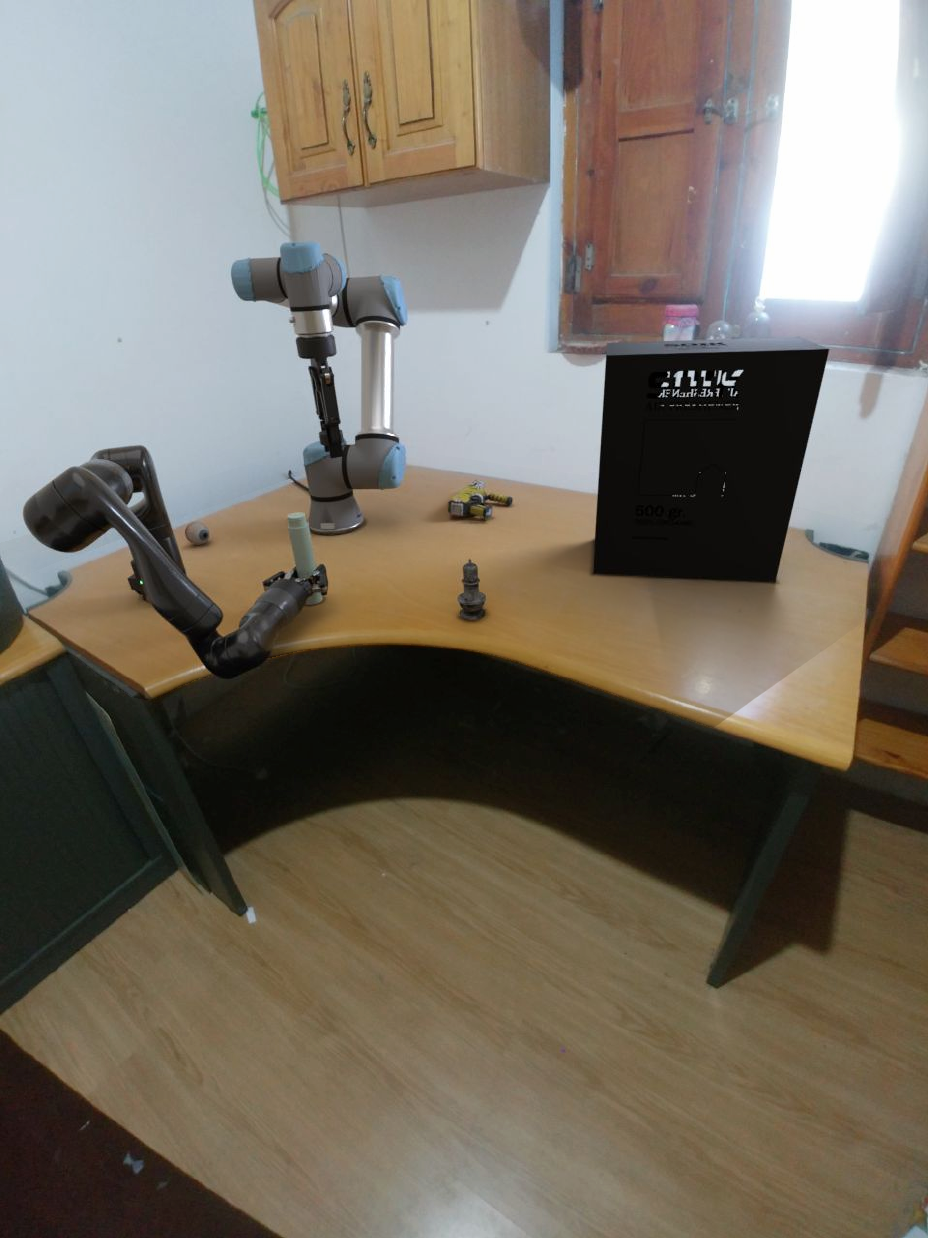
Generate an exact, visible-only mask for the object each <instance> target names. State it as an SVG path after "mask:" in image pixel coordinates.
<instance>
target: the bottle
mask: <svg viewBox="0 0 928 1238" xmlns="http://www.w3.org/2000/svg"><path fill="white" fill-rule="evenodd" d="M306 516H307V515H306V514H305V512H302V511H297V512H292V513H289V514H287V518H286V519H287V523H288V525H287V530H288V536H289V540H290V545H291V550H292V555H293V560H294V564H295V566H296V569H297V574H298V578H301V577H303V576H304V575H306V574H311V573H313V572H314V571H315V569H316V568H317V567H318V566H317V562H316V557H315V551H314V546H313V541H312V535H311V530H310V529H309V522H307V518H306ZM314 581H315V577H314ZM323 599H324V598H323V596H322V595H321V593H319V592H318V593H313V595H312V596H310V597H308V598H307V601H306V604H305V605H306V606H314V605H318V604H320V603H321V602H322V601H323Z"/></svg>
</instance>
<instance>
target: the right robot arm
mask: <svg viewBox="0 0 928 1238" xmlns="http://www.w3.org/2000/svg"><path fill="white" fill-rule="evenodd" d="M279 254H280V255H279V256H275V257H257V258H251V257H247V258H243V259H236V260H235V261H233V262H232V264H231V268H230V277H231V285H232V287H233V290H234V292H235V294H236V295H237V297H238V298H239V299H240V300H241V301H244V302H253V303H255V302H268V303H271V304H274V305H277V306H278V305H279V306H281V307H285V308H287V309H289V311H290V315H291V316H292V317H291V316H290V317H289V318H288V322H289V324H292V327H293V333H294V334H295V335H297V337H296V338H295V344H296V345H295V346H296V350H297V356H298V357H299V358H300V359H303V360H309V361H310V365H308V366H307V367H308V368H307V369H308V373H309V376H310V382H311V388H312V393H313V399H314V405H315V413H316V415H317V416H318V419H319V425H320V430H321V431H323V430H326V435H327V441H328V446H324V445H321V444H320V440H318V441H314V442H312V443H309V444H308V445H307V446H305V447H304V448H303V450H302V457H303V459H302V460H303V467H304V471H305V477H306V481H307V486H308V487H307V486H306V485H304V484H302V483H301V482H299V481H297V479H295V478H294V477H293V476H292V470H291V469H289V470H288V477H289V479H290V480H291V481H292V482H294V483H295V484H296V485H298V486H299V487H301V488H302V489H305V490H306V491H307V492H309V498H310V507H309V513H308V522H307V523H308V524H309V530H310V532H312V533H314V534H317V535H323V536H324V535H325V536H327V535H329V536H331V535H339V534H340V535H341V534H345V533H350V532H353V531H355V530H357V529H359V528H361V527H362V526H363V525H364V523H365V519H364V514H363V512H362V510H361V508H360V505H359V504H358V501H357V500H356V498H355V495H354V490H381V491H384V490H392V489H393V490H394V489H397V488H398V487H400V486H401V484H402V482H403V480H404V477H405V474H406V469H407V456H406V455H407V451H406V450H407V449H406V447H405V445H404V444H403V443H402V442H400V437H399V435H397V433H396V432H395V431H394V429H395V428H394V423H395V422H394V421H395V418H394V415H395V411H394V410H395V340H397V339H398V338H399V336H401V327H404V326H406V325H407V324H408V309H407V303H406V297H405V293H404V290H403V286H402V284H401V282H400V280H399V279H398V278H397V277H396V276H395V275H382V274H379V275H373V276H357V277H356V276H355V277H347V271H346V268H345V265H344V264H343V263H342V261H341V260H340V259H339V258H338V257H336V256H334V255H332V254H329V253H327V252H325V253H323V252H322V248H321V245H320V243H319V242H318V241H315V240H307V241H306V240H305V241H304V240H303V241H289V242H283V243H282V244H281V245H280V247H279ZM334 326H335V327H339V328H344V329H345V328H346V329H348V328H349V329H350V328H352V329H353V328H355V330H354V331H355V333H356V334H357V335H358V336H359V337H360V341H361V342H360V344H361V345H360V360H361V361H360V430H359V431H358V432H357V433H356V434H355V435H354V443H353V444H348V443H347V441H346V439H345V438H344V442H343V443H341V436H340V430H341V429H340V424H341V422H342V420H341V417H340V410H339V403H338V397H337V391H336V386H335V385H336V384H335V374H334V372H333V369H332V366H329V363H328V358H331V357H334V356H336V355H337V344H336V339H335V338H336V337H335V336H334V334H332V332H334ZM339 429H340V430H339ZM321 431H320V432H321Z"/></svg>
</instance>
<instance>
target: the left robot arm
mask: <svg viewBox="0 0 928 1238" xmlns="http://www.w3.org/2000/svg"><path fill="white" fill-rule="evenodd" d="M139 493H142V494H143V498H142V499H141V500H139V501H138V502H137V503H135V504H133V505H131V506H128V505H129V503H130V502H131V500H132V498H133V494H139ZM162 494H163V493H162V490H161V487H160V483H159V478H158V474H157V471H156V467H155V463H154V460H153V457H152V455H151V453H150V451H149V450H148V448H147V447H146V446H145V445H142V444H135V445H133V444H132V445H126V446H117V447H110V448H109V447H108V448H103V449H100V450H98V451H96V452H94V453H93V455H92V456H91V457H90V458H89V460H88V461H86V462H84V463H81V464H80V465H79V466H78V465H77V466H76V465H74V466H70V467H68V468H67V469H66V470H65V469H64V471H63V472H61V473H60V474H59V475H57V476H56V477H55V478H54V479H52V480H51V481H49V482H48V483H47V484H45V485H44V486H43V487H42V488H40V489H39V490H37V492H35V493H33V494H32V495H31V496H30V497H29V498H28V499H27V500H26V502H25V503H24V505H23V508H22V517H23V521H24V524H25V526H26V528H27V530H28V531H29V533H30V534H31V535H32V536H33V538H35V539H36V540H37V542H39V543H41V545H44V546H45V547H47V548H49V549H50V550H54V551H56V552H60V553H67V554H72V553H77V552H80V551H83V550H84V549H86V548H88V547H89V546H90V545H93V543H94V542H96V541H97V540H98V539H100V538H101V537H102V536H103V535H105V534H106V533H107V532H108V531H110V530H111V529H114V530H115V531H116V532H117V533H118V534H119V535H120V536H121V538H123V539H124V541H125V542H126V544H127V546H128V549H129V551H130V554H131V557H132V559H131V561H130V566H131V568H132V572H133V574H131V575H130V576H128V577H127V582H128V584H129V587H130V590H131V591H135V593H137V594H138V595H140V596H142V600H143V601H146V602H148V603H149V604H150V606H151V607H152V608H153V609H154V610H155V612H156V613H157V614H158V615H159V616H160V617H161V618H162V619H163V620H165V621H166V622H167V623H168V624H170V625H171V627H173V628H174V629H175V630H176V631H178V633H180V634H181V635H182V636H183V637H184V638H185V639H186V641H187V642H188V644H189V646H190V647H191V648H192V650H193V652H194V654H196V656H197V658H198V659H199V661H200V662H201V663H202V665H203V666H204V668H205V669H206V670H207V671H208V672H209V673H210V674H212V675H214V676H215V677H217V678H220V679H223V680H230V679H235V678H237V677H239V676H242V675H243V674H246V673H248V672H250V671H251V670H254V669H256V668H258V667H260V666H261V665H263V664H264V663H265V662H266V661H267V660H268V659H269V658H270V656H271V654H272V653H273V650H274V647H275V644H276V640H277V639H278V637H279V636H280V635H281V633H282V632H284V630H285V629H286V628H288V627H289V626H290V625H291V624H292V622H294V620H295V619H296V617H297V616H298V615H299V614H300V613H301V611H302V610H303V609H304V607H305V605H307V604H306V601H307V598H308V597H310V596H312V595H313V593H318V592H319V593H321V595H322V597H323V596H324V597H325V596H327V595H328V591H329V579H328V573H327V567H326V566H325V564H324V563H319V564H318V566H316V567H317V568H316V569H315V571H314V572H313V573H311V574H306V575H304V576H303V577H301V578H298V574H297V569H296V565H295V566H294V567H293V568H292V569H289V570H287V572H286V571H284V570H280V571H278V572H277V573H275V574H273V575H272V576H269V577H268V578H266V579H264V580H263V581H262V587H263V590H264V591H263V592H262V593H261V594H260V596H259V597H257V599H256V600H255V602H254V603H253V605H252V606H250V608H249V609H248V610H246V612H245V614H243V616H242V617H241V619H240V621H239V623H238V628H237V629H236V630H234V631H232V632H230V633H228V634H226V635H224V636H223V635H221V634H220V633H219V631H218V630H217V629H218V628H219V626H220V625H221V623H222V622H223V620H224V612H223V610H222V609H221V608H220V606H219V605H217V604H216V602H215V601H213V599H211V598H210V597H209V596H208V595H207V594H206V593H205V592H204V591H203V590H202V589H201V588H200V587H198V585H197V584H195V583H194V582H193V581H192V579H190V578H189V577H188V571H187V567H186V566H185V564H184V560H183V558H182V555H181V552H180V549H179V546H178V543H177V539H176V536H175V533H174V530H173V526H172V523H171V519H170V516H169V514H168V511H167V508H166V507H167V506H166V505H165V501H164V497H163V495H162ZM314 577H315V581H314Z"/></svg>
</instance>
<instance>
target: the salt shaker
mask: <svg viewBox="0 0 928 1238" xmlns="http://www.w3.org/2000/svg"><path fill="white" fill-rule="evenodd" d="M478 567H479V566H478V564H476V563H474V562H473V561H472V559H471V558H469V559H468V561H467V562H466V563H465V564H463V566H462V577H463V578H462V579H461V583H462V585H463V592H461V593H460V594H458V596H457V597H456V601H457V602H458V604H459V607H460V608H461V609H460V611H459V617H460V618H461V619H464V620H466V621H467V620H468V621H476V620H480V619H482V618H484V617H485V616H486V614H487V613H486V610H485V609H484V606H485V604H486V601H487V595H486V593H484V592H482V591H480V587H479V586H480V583H481V578H480V577H479V568H478Z"/></svg>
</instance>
